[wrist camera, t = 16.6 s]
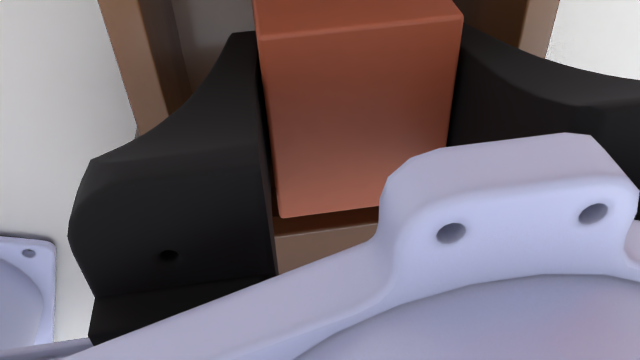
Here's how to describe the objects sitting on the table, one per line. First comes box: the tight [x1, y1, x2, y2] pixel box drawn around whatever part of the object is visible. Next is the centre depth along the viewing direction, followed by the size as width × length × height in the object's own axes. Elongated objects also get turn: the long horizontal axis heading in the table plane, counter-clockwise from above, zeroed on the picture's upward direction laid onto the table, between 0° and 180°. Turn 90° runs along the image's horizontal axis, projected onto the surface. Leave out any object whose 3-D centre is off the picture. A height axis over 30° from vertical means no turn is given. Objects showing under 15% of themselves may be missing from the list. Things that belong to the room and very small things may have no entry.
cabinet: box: [135, 127, 379, 275], centre depth 23 cm, size 15×13×8 cm
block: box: [252, 0, 464, 218], centre depth 13 cm, size 4×5×4 cm
